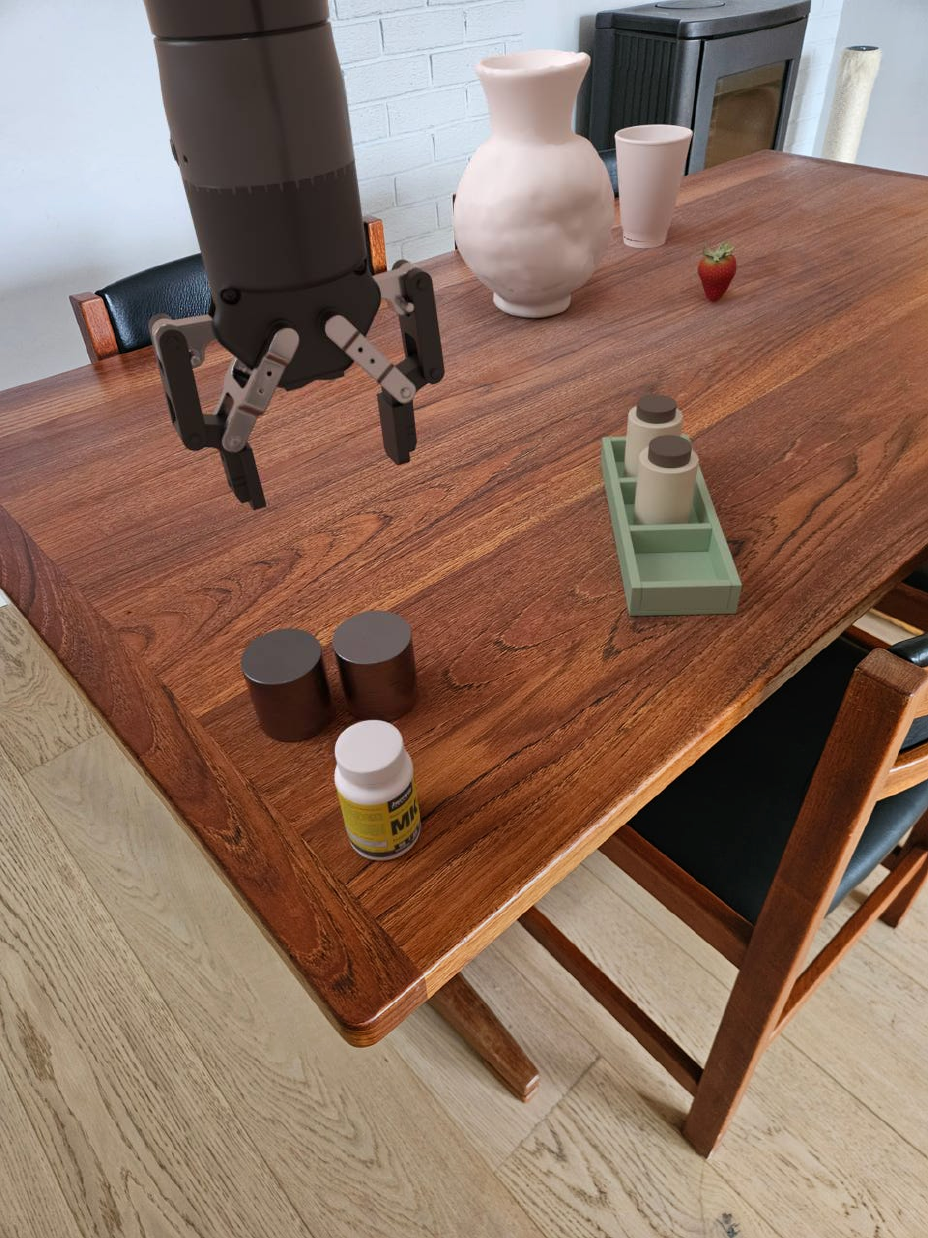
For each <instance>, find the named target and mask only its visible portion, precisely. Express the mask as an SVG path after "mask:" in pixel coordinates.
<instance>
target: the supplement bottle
mask: <svg viewBox="0 0 928 1238" xmlns="http://www.w3.org/2000/svg"><path fill="white" fill-rule="evenodd" d="M404 743H405V742H404V739H403V735H402V734H401V732H400V731H399V729H398V728H397V727H396V726H394V725H393V724H391V723H389V722H388V721H385V722H384V721H379V720H367V721H365V720H361V721H358V722H355V723H354V724H352V725H349V727H347V728H346V729H345V730H344V731H343V732H341V733H340V735H339V736H338V738H337V739H336V742H335V746H334V756H335V761H336V766H335V768H334V769H335V770H334V775H333V776H334V779H333V780H334V785H335V790H336V792H337V797H338V800H339V804H340V805H339V806H340V809H341V813H342V817H343V821H344V827H345V831H346V834H347V838H348V842H349V844H350V845H351V847H352V848H353V850H354V851H355V852H356V853H357V854H359V855H360V856H362V857H364V858H366V859H369V860H373V861H388V860H393V859H397V858H398V857H401V856H403V855H404V854H406V853H407V852H408V851H410V850H411V849H412V848H413V847H414V845H415V844H416V842H417V841H418V838H419V837H420V833H421V829H422V822H421V814H420V807H419V801H418V800H419V799H418V791H417V785H416V776H415V771H414V764H413V760H412V757H411V756H410V754H409V753H408V751H407V750H406V747H405V744H404Z"/></svg>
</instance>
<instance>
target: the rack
mask: <svg viewBox="0 0 928 1238" xmlns="http://www.w3.org/2000/svg"><path fill="white" fill-rule="evenodd" d="M626 437H627V435H626V436H602V437H601V448H600V462H599V463H600V467H601V473H602V479H603V483H604V489H605V495H606V500H607V506H608V510H609V511H608V512H609V516H610V521H611V527H612V533H613V537H614V543H615V548H616V554H617V558H618V564H619V569H620V575H621V580H622V585H623V591H624V597H625V601H626V606H627V613H628V616H629V617H647V616H649V617H651V616H686V615H687V616H689V615H692V616H693V615H694V616H695V615H696V616H697V615H736V614H737V613H738V606H739V602H740V598H741V592H742V588H743V583H742V580H741V578H740V575H739V572H738V570H737V567H736V564H735V561H734V557H733V555H732V553H731V550H730V548H729V544H728V541H727V539H726V536H725V533H724V531H723V528H722V526H721V523H720V519H719V516H718V513H717V512H716V508H715V505H714V503H713V501H712V498H711V494H710V491H709V489H708V487H707V484H706V481H705V478H704V475H703V473H702V469H701V467H700V464H699V463H698V468H697V475H696V481H695V488H694V494H693V501H692V508H691V514H690V521H689V524H665V525H633V517H634V507H635V496H636V486H637V477H632V478H623V472H624V460H625V449H626ZM680 437H682V438H685V439H687V440H688V441H689V442H690V443H691V445H692V442H691V439H690V436H689V434H687V433H685V434H684V433H683V434H682V433H681V436H680ZM692 450H693V451H694V452H695V450H694V448H693V445H692Z"/></svg>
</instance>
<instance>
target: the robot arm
mask: <svg viewBox="0 0 928 1238" xmlns="http://www.w3.org/2000/svg"><path fill="white" fill-rule="evenodd" d="M142 1H143V5H144V8H145V12H146V13H145V14H146V17H147V21H148V25H149V28H150V32H151V35H152V36H154V38H153V40H152V41H153V45H154V51H155V55H156V62H157V68H158V76H159V85H160V92H161V96H162V97H161V98H162V105H163V108H164V113H165V117H166V122H167V126H168V130H169V144H170V148H171V153H172V156H173V159H174V161H175V162H176V164H177V165H176V166H177V167H178V169H179V173H180V177H181V180H182V184H183V189H184V193H185V197H186V200H187V203H188V208H189V211H190V215H191V220H192V223H193V227H194V231H195V236H196V239H197V243H198V247H199V250H200V254H201V258H202V262H203V266H204V270H205V275H206V278H207V282H208V286H209V293H210V298H209V299H210V300H209V301H210V302H209V305H208V306H209V307H208V310H207V313H206V314H200V315H196V316H195V315H194V316H190V317H183V318H178V319H173V318H172V317H171V316H169V315H168V314H166V313H156V314H154V315H152V316H151V317H150V319H149V320H148V324H147V325H148V326H147V327H148V331H149V336H150V339H151V340H150V341H151V344H152V348H153V352H154V356H155V360H156V364H157V368H158V373H159V376H160V380H161V384H162V389H163V392H164V396H165V401H166V404H167V409H168V413H169V416H170V421H171V425H172V426H173V428H174V430H175V432H176V434H177V435H178V437H179V439H180V440H181V442H182V443H183V446H184V447H185V448H186V449H187V450H189V451H192V452H199V451H202V450H203V449H204V448H208V449H216V450H218V453H219V456H220V460H221V464H222V467H223V470H224V474H225V477H226V480H227V485H228V486H229V488H230V490H231V491H232V494H233V495H234V497H235V498H236V499H237V500H238V501H239V503H240V504H246V503H248V504H249V506H250V507H251V509H252V511H257V510H259V509H260V510H261V509H263V508H266V507H267V502H266V498H265V497H266V496H265V494H264V490H263V486H262V482H261V478H260V475H259V470H258V467H257V462H256V458H255V455H254V451H253V448H252V446H251V444H249V442H248V441H249V438H250V436H251V434H252V432H253V429H254V427H255V425H256V423H257V420H258V419H259V417H260V416H263V415H264V414H265V413H266V411H267V409H268V407H269V405H270V403H271V400H272V398H273V396H274V394H275V393H276V390H277V389H278V388H279V389H284V391H286V392H287V393H288V392H291V391H295V390H298V389H302V388H304V387H306V386H307V385H310V384H311V383H313V382H314V381H332V380H336V379H339V378H343V377H345V372H346V371H347V370H349V368H351V367H352V365H354V363H356V364H357V365H358V367H360V368H361V369H362V370H363V371H365V372H366V373H367V374H368V375H369V376H370V377H371V378H372V379H373V380H374V381H375V382H376V383H378V384H379V386H380V388H381V389H380V390H381V392H378V393H376V401H377V408H378V414H379V422H380V430H381V437H382V443H383V444H382V445H383V449H384V452H385V454H386V456H387V457H388V458H389V459H390V460H391V461H392V462H393V463H394V465H396V466H397V467H400V466H402V465H405V464H408V463H410V462H411V456H410V454H411V453H412V452H415V451H416V448H417V443H418V437H417V428H416V420H415V410H414V408H415V407H414V399H415V397H416V394H417V393H418V392H419V391H420V390H421V389H422V388H424V387H426V386H427V385H428V384H430V385H436V384H439V383H440V382H441V381H443V379H444V377H445V371H446V369H445V363H444V356H443V349H442V348H443V347H442V342H441V341H442V340H441V332H440V328H439V327H440V326H439V318H438V312H437V304H436V297H435V290H434V282H433V278H432V276H431V275H430V274H429V273H428V272H427V271H425V270H423V268H421V267H419V266H418V265H416V264H414V263H413V262H410V261H409V260H407V259H404V258H403V259H402V258H401V259H399V260H396V261H395V262H394V264H392V266H391V270H388V271H385V272H381V273H378V274H375V275H372V273H371V271H370V268H369V265H368V250H367V242H366V233H365V226H364V220H363V211H362V205H361V196H360V189H359V187H360V186H359V182H358V174H357V173H358V172H357V166H356V158H355V151H354V149H355V148H354V142H353V135H352V128H351V127H352V126H351V120H350V119H351V118H350V111H349V103H348V96H347V90H346V84H345V79H344V75H343V72H342V67H341V63H340V59H339V55H338V52H337V48H336V42H335V37H334V33H333V28H332V27H333V26H332V23H331V22H330V21H329V20H330V18H331V14H330V6H329V0H142ZM382 300H385V302H386V305H387V307H388V308H389V309H390V310H392V311H393V312H394V313H395V314H397V316H398V322H399V328H400V334H401V340H402V346H403V351H404V359H403V360H401V361H400V362H399V363H397V364H395V365H394V363H392V361H390V360H389V359H388V357H386V356H385V355H384V354H383V353H382V352H381V351H380V350H379V349H378V348H376V346H375V345H373V343H372V342H371V341H369V339H367V336H368V333H369V331H370V329H371V327H372V325H373V323H374V320H375V318H376V317H377V313H378V311H379V310H380V307H381V303H382ZM215 340H216V341H217V343H218V344H219V345H220V346H221V347H222V348H224V349H225V350H226V351H227V352H228V353H230V354H231V355H232V356H233V357H232V358H231V362H230V363H229V366H228V368H227V371H226V373H225V375H224V378H223V382H222V384H223V386H222V392H221V394H220V396H219V398H218V401H217V403H216V406H215V407H214V410H213V413H203V409H202V405H201V400H200V396H199V395H200V394H199V391H198V386H197V382H196V377H195V373H194V369H197V368H199V367H201V366H202V365H203V364H204V362H205V358H206V353H205V351H206V348H207V346H208V345H209V344H210V343H211V342H213V341H215Z"/></svg>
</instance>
